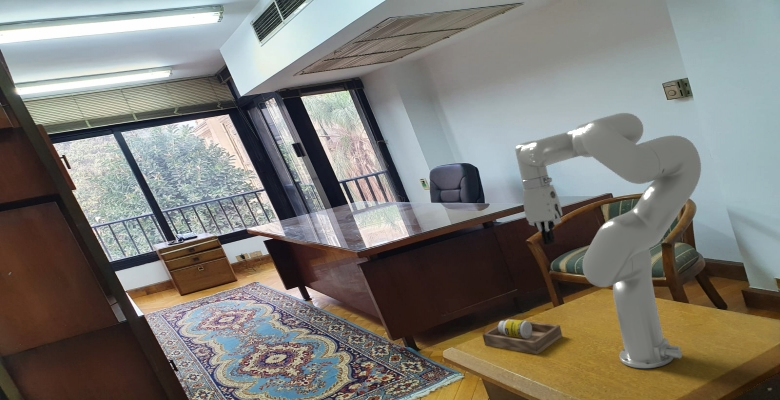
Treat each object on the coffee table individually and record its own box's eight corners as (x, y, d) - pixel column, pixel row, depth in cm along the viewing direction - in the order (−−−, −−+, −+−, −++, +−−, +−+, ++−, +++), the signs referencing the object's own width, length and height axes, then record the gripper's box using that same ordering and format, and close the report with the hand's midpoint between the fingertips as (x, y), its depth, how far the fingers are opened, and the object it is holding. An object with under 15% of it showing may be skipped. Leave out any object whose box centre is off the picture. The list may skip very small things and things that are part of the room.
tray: (562, 336, 161) (559, 325, 161) (537, 354, 153) (534, 343, 153) (510, 329, 177) (507, 319, 176) (484, 345, 169) (482, 334, 168)
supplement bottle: (522, 339, 161) (496, 336, 168) (533, 338, 164) (507, 335, 172) (521, 321, 161) (496, 318, 169) (532, 320, 165) (507, 318, 172)
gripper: (565, 177, 152) (578, 239, 154) (523, 183, 164) (535, 240, 165) (550, 183, 148) (564, 246, 149) (508, 188, 159) (521, 247, 161)
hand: (549, 243), depth 157 cm, fingers closed
